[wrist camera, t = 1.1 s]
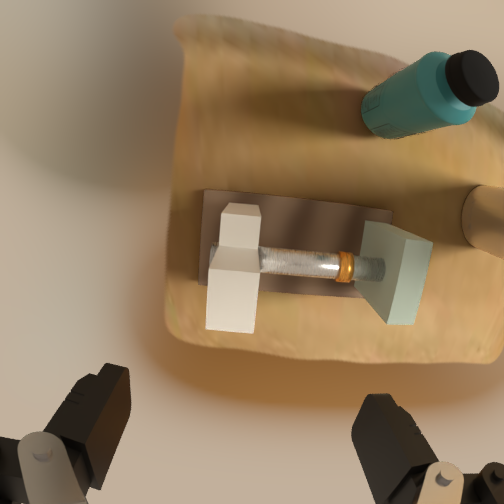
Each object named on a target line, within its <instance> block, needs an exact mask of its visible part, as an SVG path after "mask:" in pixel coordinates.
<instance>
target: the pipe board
mask: <svg viewBox="0 0 504 504" xmlns="http://www.w3.org/2000/svg"><path fill="white" fill-rule="evenodd" d="M229 203H240V204H251V205H259V209H260V214H261V224H260V234H259V244H258V246H262V247H273V248H284V249H294V250H305V251H315V252H325V253H337V252H338V251H342V252H351V253H352V254H353V255H356V256H360V251H361V245H362V239H363V232H364V226H365V220H366V221H373V222H381V223H388V224H390V225H391V224H392V217H393V211H390V210H384V209H378V208H371V207H365V206H358V205H351V204H343V203H336V202H328V201H320V200H312V199H304V198H295V197H286V196H277V195H268V194H258V193H247V192H236V191H224V190H212V189H205V190H204V198H203V211H202V226H201V241H200V258H199V278H198V285H205V286H208V272H209V267H210V266H209V260H210V249H211V244H212V242H219V236H220V223H221V213H222V212H223V210H224V209H225V208H226V206H227V205H228V204H229ZM354 283H355V280H351V281H350V282H349V283H348V282H336V281H335V280H334V279H330V278H318V277H305V276H293V275H282V274H270V273H260V279H259V288H258V291H269V292H281V293H294V294H307V295H321V296H336V297H353V298H364V297H363V296H362V295H361V293H360V292H359V291H358V290H357V289H356V288H355V287H354Z"/></svg>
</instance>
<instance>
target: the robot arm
mask: <svg viewBox="0 0 504 504" xmlns="http://www.w3.org/2000/svg"><path fill="white" fill-rule="evenodd" d="M462 228H463V233H464V235H465V238H466V239H467V241H468V242H469V243H470V244H471V245H472V246H474V247H476V248H478V249H481V250H483V251H485V252H488V253H490V254H492V255H495V256H497V257H499V258H502V259H504V188H501V187H494V186H486V185H481V186H478V187H476V188H475V189H473V190H472V191H471V192H470V193H469V195H468V197H467V198H466V200H465V203H464V206H463V210H462ZM130 411H131V392H130V376H129V369H128V368H126V367H122V366H118V365H113V364H110V363H106V364H104V366H103V367H102V369H101V370H100V372H99V373H98V375H94V374H90V373H89V374H88V375H86V376H85V377H83V378H81V379H80V380H78V381H77V382H76V384H75V385H74V387H73V388H72V389H71V392H70V393H69V394H68V395H67V397H66V398H65V401H63V402H62V404H61V405H60V407H59V408H58V410H57V411H56V413H55V414H54V416H53V417H52V419H51V420H50V422H49V423H48V425H47V426H46V428H45V429H44V430H43V432H33V433H30V434H28V435H26V436H25V437H23V438H22V439H21V440H15V439H10V438H4V437H0V504H21V503H23V504H88V502H87V499H86V497H85V496H86V494H87V491H88V489H89V487H91V488H95V489H97V490H101V487H102V485H103V482H104V480H105V477H106V474H107V472H108V469H109V466H110V464H111V461H112V459H113V456H114V454H115V451H116V449H117V446H118V444H119V441H120V439H121V436H122V434H123V431H124V429H125V427H126V424H127V422H128V419H129V416H130ZM351 436H352V442H353V444H354V447H355V449H356V452H357V455H358V457H359V460H360V463H361V465H362V468H363V471H364V473H365V476H366V479H367V481H368V484H369V487H370V489H371V492H372V495H373V498H374V500H375V503H376V504H504V465H503V464H501V463H497V462H492V463H488V464H487V465H486V466H485V467H484V468H483V469H482V470H481V472H480V473H479V474H462V472H461V471H460V470H459V468H458V467H456V466H455V465H453V464H451V463H449V462H443V461H442V462H439V460H438V459H437V457H436V455H435V454H434V452H433V450H432V449H431V447H430V445H429V444H428V442H427V440H426V439H425V438H424V436H423V434H421V431H420V429H419V428H418V426H416V423H415V421H414V420H413V418H412V416H411V415H410V414H409V413H408V412H406V411H405V410H404V409H403V408H402V407H401V406H397V404H396V403H395V401H394V400H393V398H392V397H391V395H390V394H387V393H386V394H368V395H367V397H366V398H365V400H364V402H363V404H362V406H361V409H360V411H359V413H358V415H357V417H356V419H355V422H354V424H353V426H352V432H351Z"/></svg>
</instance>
